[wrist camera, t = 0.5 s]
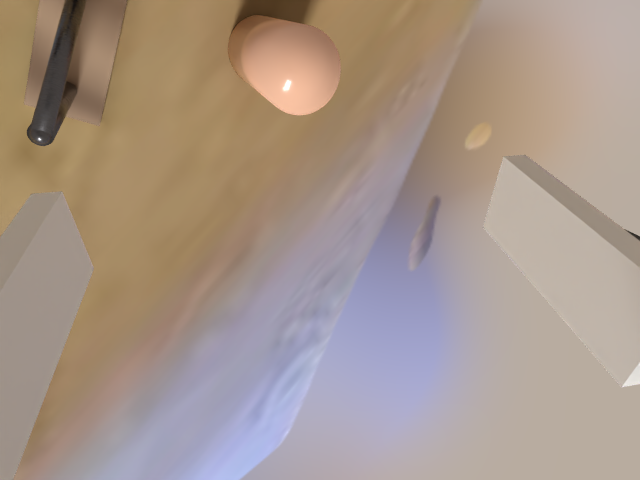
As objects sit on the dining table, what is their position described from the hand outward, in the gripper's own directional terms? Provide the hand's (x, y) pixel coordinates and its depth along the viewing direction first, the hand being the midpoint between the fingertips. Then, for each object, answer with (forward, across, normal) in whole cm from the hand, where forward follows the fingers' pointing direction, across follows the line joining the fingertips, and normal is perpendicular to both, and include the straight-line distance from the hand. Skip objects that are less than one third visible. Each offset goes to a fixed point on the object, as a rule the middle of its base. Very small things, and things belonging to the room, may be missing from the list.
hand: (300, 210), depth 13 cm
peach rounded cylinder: (+28, 0, -1) cm, 28 cm away
